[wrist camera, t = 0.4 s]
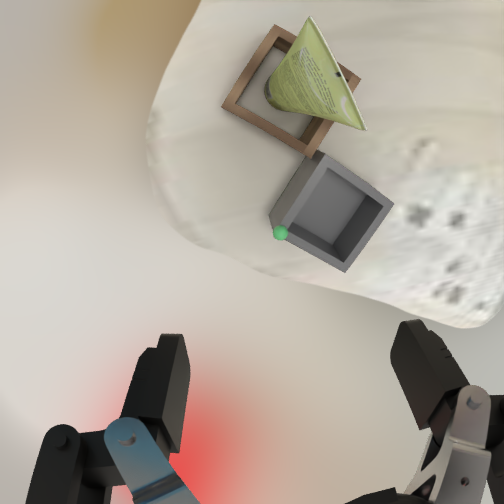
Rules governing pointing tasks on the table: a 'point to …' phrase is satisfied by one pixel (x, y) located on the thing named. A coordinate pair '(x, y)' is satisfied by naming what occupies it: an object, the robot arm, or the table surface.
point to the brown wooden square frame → (304, 145)
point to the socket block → (328, 211)
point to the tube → (313, 81)
